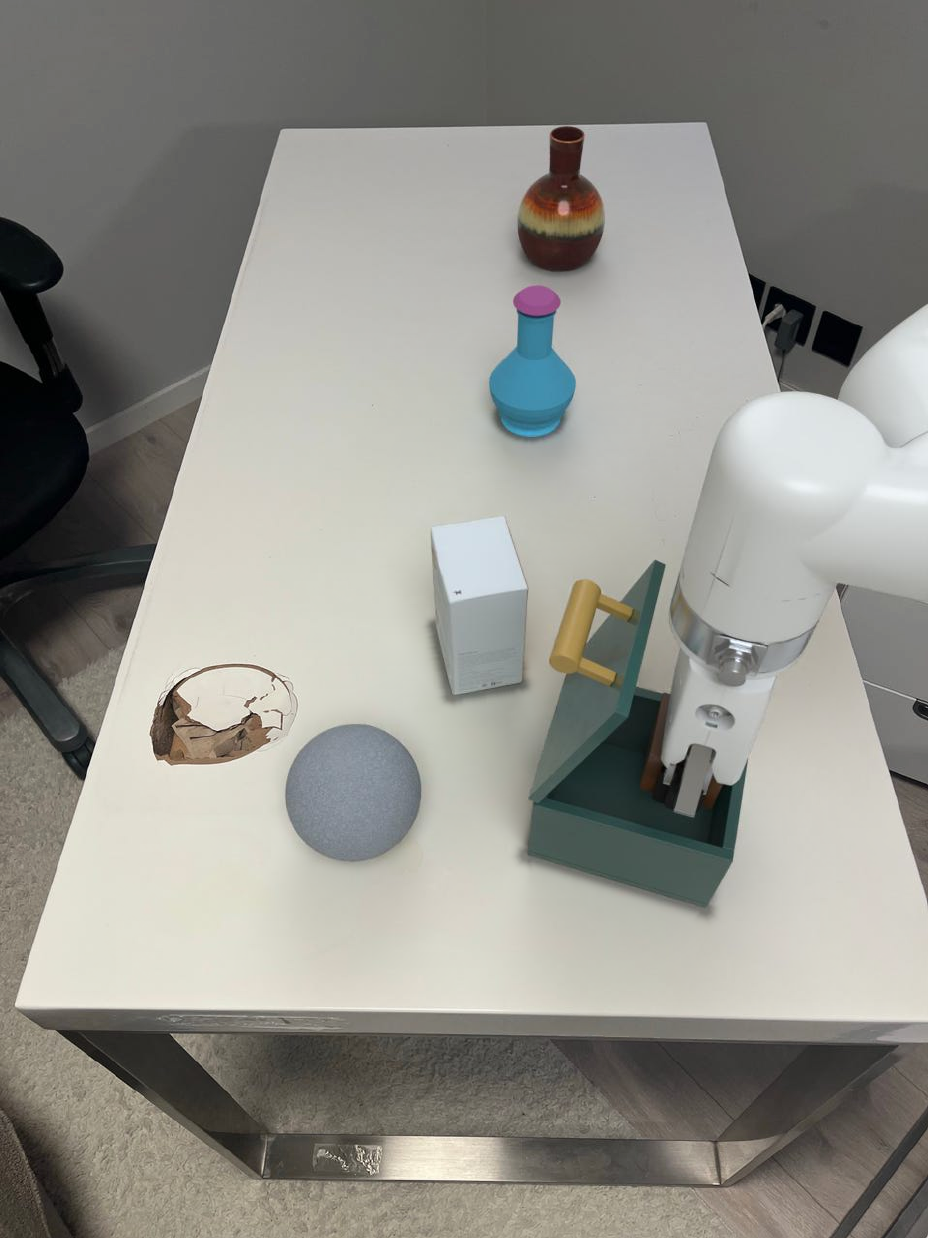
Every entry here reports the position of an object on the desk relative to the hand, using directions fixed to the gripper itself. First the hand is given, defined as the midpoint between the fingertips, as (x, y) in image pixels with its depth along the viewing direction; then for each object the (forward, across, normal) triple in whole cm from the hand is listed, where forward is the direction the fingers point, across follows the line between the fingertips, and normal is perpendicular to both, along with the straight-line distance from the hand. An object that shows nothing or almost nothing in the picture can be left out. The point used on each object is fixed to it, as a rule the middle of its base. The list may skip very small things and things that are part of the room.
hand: (682, 765), depth 63 cm
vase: (+10, +75, +27) cm, 80 cm away
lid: (-7, 0, +7) cm, 9 cm away
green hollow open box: (+9, 0, +2) cm, 10 cm away
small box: (+10, +11, +18) cm, 23 cm away
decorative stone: (+10, -7, +22) cm, 25 cm away
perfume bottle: (+10, +43, +22) cm, 49 cm away
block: (0, 0, 0) cm, 0 cm away
